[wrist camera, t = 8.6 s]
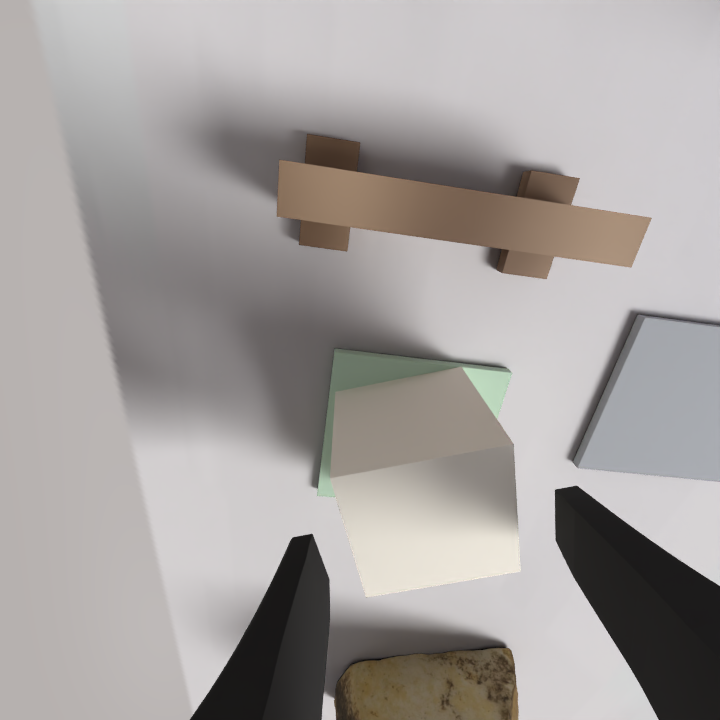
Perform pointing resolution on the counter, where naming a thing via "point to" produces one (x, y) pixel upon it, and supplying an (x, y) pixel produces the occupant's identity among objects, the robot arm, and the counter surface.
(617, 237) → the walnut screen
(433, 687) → the rock
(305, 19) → the counter surface
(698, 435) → the grey mat
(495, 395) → the green mat
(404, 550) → the lettered cube
